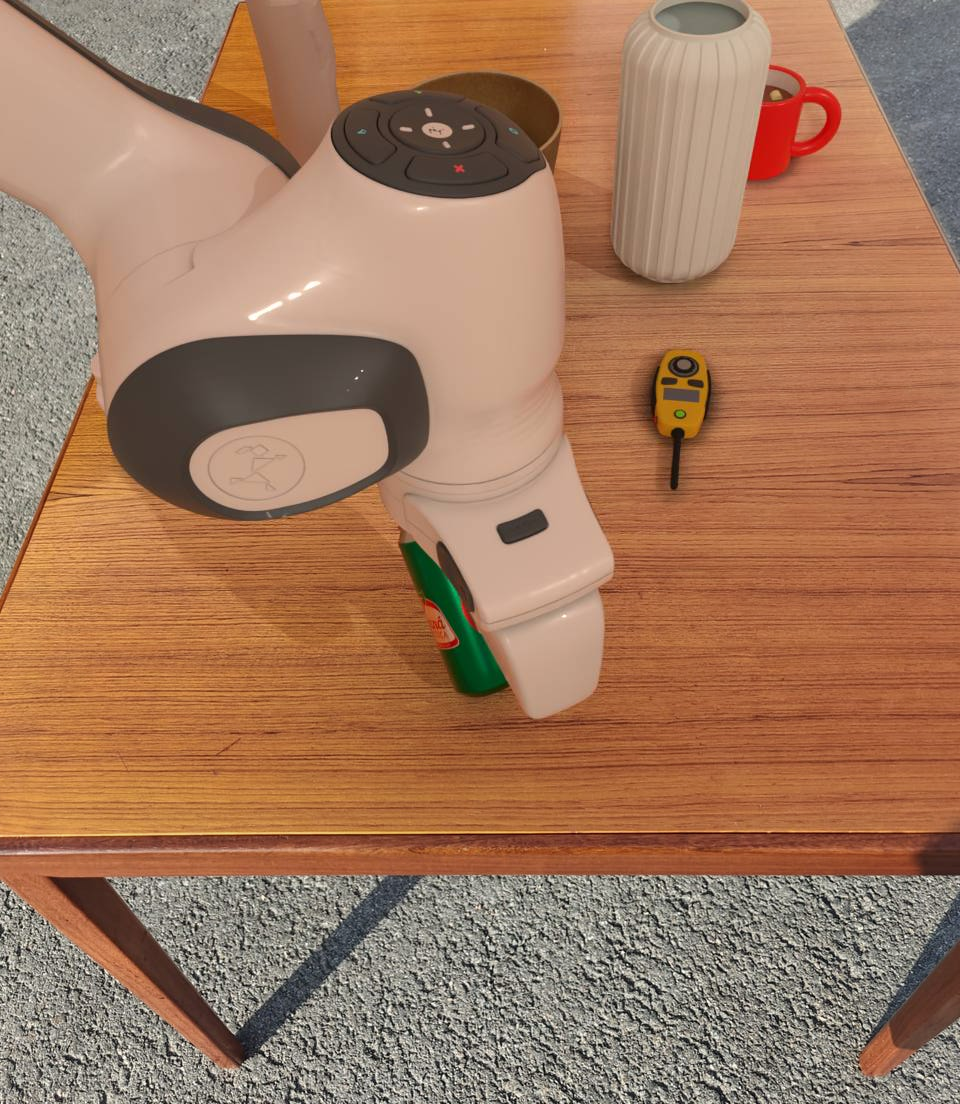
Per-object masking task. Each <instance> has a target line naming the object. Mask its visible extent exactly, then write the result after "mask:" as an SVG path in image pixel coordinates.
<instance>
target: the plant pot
mask: <svg viewBox="0 0 960 1104" xmlns="http://www.w3.org/2000/svg"><path fill="white" fill-rule="evenodd" d="M405 90H432V91H441V92H447V93H452V94H457V95H461V96H463V97H464V98H467V99H470V100H473V101H476V102H479V103H482V104H484V105H486V106H488V107H493V108H495V109H496V110H498V111H499V112H501V113H502V114H504V115H505V116H507V117H508V118H509V119H511V120H512V121H513V122H514V123H516V124H517V125H518V126H519V127H520V128H521V129H522V130H523V131H524V132H525V133H526V134H527V135H528V136H529V137H530V138H531V139H532V140H533V142H534V143H535V144H536V145H537V147H538V148H539V149H540V151H541V152H542V153H543V155H544V157H545V159H546V160H547V162H548V164H549V166H550V169H551V172H552V175H553V176H554V174H555V169H556V163H557V162H556V161H557V158H558V152H559V146H560V141H561V135H562V129H563V122H564V111H563V108H562V105H561V103H560V101H559V99H558V98H557V97H556V96H555V94H554V93H552V91H551V90H549V89H548V87H546V86H544V85H542V83H540V82H537V81H536V80H533V79H531V78H529V77H526V76H523V75H522V74H521V75H520V74H516V73H513V72H509V71H508V72H507V71H502V70H496V69H495V70H492V69H469V70H459V71H451V72H447V73H443V74H438V75H435V76H432V77H430V78H427V79H424V80H422V81H419V82H417V83H415V84H413V85H411V86H410V87H408V88H406V89H405Z"/></svg>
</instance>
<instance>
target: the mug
mask: <svg viewBox="0 0 960 1104" xmlns="http://www.w3.org/2000/svg"><path fill="white" fill-rule="evenodd" d="M804 104H816V105H819V106H820V107H822V109H823V110H824V112H825V116H826V118H825V122H824V125H823V127H822V128H821V130H819V132H818V133H816V135H814V136H812V137H811V138H809V139H807V140H803V141H796V136H797V131H798V128H799V123H800V120H801V115H802V111H803V107H804ZM842 113H843V112H842V107H841V103H840V101H839V100H838V98H837V96H835V95H834V94H833V93H832V92H831V91H829V90H828V89H826V88H823V87H820V86H814V85H813V86H812V85H811V86H807V83H806V81H805V79H804V78H803V77H802V75H800V74H799V73H797V72H796V71H794V70H792V69H790V68H788V67H784V66H779V65H774V64H769V69H768V74H767V79H766V84H765V90H764V95H763V100H762V105H761V110H760V115H759V120H758V126H757V131H756V136H755V141H754V146H753V151H752V156H751V162H750V167H749V172H748V177H747V181H762V180H767V179H771V178H774V177H777V176H779V175H781V174H782V173H784V172H786V170H787V169H788V168H789V165H790V162H791V158H801V157H807V156H810V155H812V154H815V153H817V152H819V151H820V150H822V149H823V148H825V147H826V146H827V145H829V144H830V142H831V141H832V140H833V139H834V137H835V136H836V134H837V133H838V130H839V128H840V125H841V122H842Z"/></svg>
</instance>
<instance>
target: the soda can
mask: <svg viewBox="0 0 960 1104" xmlns="http://www.w3.org/2000/svg"><path fill="white" fill-rule="evenodd" d="M397 529H398V530H399V538H398V542H397V546H398V548H399V551H400V553H401V556H402V558H403V561H404V563H405V566H406V570H407V571H408V574H409V576H410V577H409V578H410V579H411V582H412V585H413V587H414V590H415V592H416V594H417V597H418V599H419V602H420V605H421V607H422V610H423V613H424V615H425V618H426V620H427V623H428V626H429V629H430V631H431V634H432V636H433V638H434V641H435V643H436V646H437V649H438V652H439V654H440V657H441V660H442V663H443V665H444V667H445V669H446V672H447V674H448V678H449V680H450V682H451V685H452V688H453V691H454V692H456V693H457V694H459V695H461V696H463V697H465V698H467V699H479V698H485V697H489V696H492V695H495V694H497V693H500V692H503V691H504V690H507V689H508V688H511V687H510V685H509V684H508V682H507V680H506V678H505V676H504V674H503V673H502V671H501V669H500V667H499V665H498V663H497V661H496V660H495V658H494V656H493V654H492V652H491V650H490V649H489V647H488V645H487V643H486V641H485V639H484V638H483V636H482V634H481V633H479V632H478V630H477V628H476V626H475V624H474V622H473V620H472V618H471V616H470V614H469V613H468V611H467V609H466V607H465V606H464V604H463V602H462V600H461V598H460V597H459V595H458V593H457V592H456V590H455V588H454V587H453V586H452V584H451V583H450V581H449V580H448V579H447V577H446V576H445V575H444V573H443V571H442V569H441V568H440V567H439V566H438V565H437V564H436V562H435V561H434V560H433V559H432V558H431V557H430V556H429V555H428V554H427V553H426V552H425V551H424V550H423V549H422V548H421V547H420V546H419V544H418V543H417V542H416V541H415V539H414V538H413V537H412V535H411V534H410V533H408V532H407V531H405V530H404V529H403V528H401V527H400V526H399V525H398V524H397Z"/></svg>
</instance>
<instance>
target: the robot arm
mask: <svg viewBox="0 0 960 1104" xmlns="http://www.w3.org/2000/svg"><path fill="white" fill-rule="evenodd" d="M0 192H2V193H3V194H5V195H7V196H9V197H12V198H13V199H15V200H17V201H19V202H21V203H23V204H25V205H26V206H28V207H31V208H32V209H34V210H36V211H38V212H39V213H41V214H42V215H44V216H45V217H46V218H47V219H49V220H50V221H51V222H52V223H53V224H54V225H55V226H56V227H57V228H58V229H59V230H60V231H61V232H62V234H63V235H64V236H65V237H66V238H67V240H68V241H69V243H70V244H71V245H72V246H73V248H74V250H75V251H76V253H77V254H78V256H79V258H80V259H81V262H82V263H83V264H84V266H85V268H86V270H87V272H88V274H89V276H90V279H91V281H92V284H93V291H94V292H93V293H94V302H95V310H96V322H97V351H98V352H97V353H99V363H100V372H101V381H102V391H103V398H104V406H105V413H106V417H105V420H106V435H107V440H108V443H109V446H110V449H111V450H112V454H113V456H114V458H115V459H116V460H117V462H118V464H119V466H121V468H122V469H123V470H124V471H125V472H126V474H127V475H128V476H129V477H130V478H131V479H132V480H133V481H135V482H136V483H137V484H138V485H139V486H141V487H142V488H143V489H145V490H146V491H148V492H149V493H150V494H151V495H154V496H156V497H157V498H158V499H161V500H162V501H164V502H166V503H168V504H170V505H172V506H174V507H176V508H179V509H181V510H185V511H187V512H189V513H193V514H196V515H199V516H204V517H209V518H213V519H219V520H223V521H234V522H262V521H271V520H278V519H283V518H289V517H293V516H297V515H301V514H305V513H309V512H313V511H316V510H320V509H323V508H326V507H328V506H331V505H334V504H336V503H338V502H341V501H343V500H346V499H348V498H350V497H352V496H354V495H356V494H358V493H360V492H362V491H364V490H366V489H367V488H369V487H371V486H373V485H375V484H377V488H378V493H379V496H380V500H381V502H382V504H383V507H384V509H385V510H386V512H387V513H388V515H389V516H390V517H391V519H392V520H393V521H394V522H395V523H396V524H397V526H398V525H399V526H400V527H401V528H403V529H404V530H405V531H407V532H408V533H410V534H411V535H412V537H413V538H414V539H415V541H416V542H417V543H418V544H419V546H420V547H421V548H422V549H423V550H424V551H425V552H426V553H427V554H428V555H429V556H430V557H431V558H432V559H433V560H434V561H435V562H436V564H437V565H438V566H439V567H440V568H441V569H442V571H443V573H444V575H445V576H446V577H447V579H448V580H449V581H450V583H451V584H452V586H453V587H454V588H455V590H456V592H457V593H458V595H459V597H460V598H461V600H462V602H463V604H464V606H465V607H466V609H467V611H468V613H469V614H470V616H471V618H472V620H473V622H474V624H475V626H476V628H477V630H478V632H479V633H481V634H482V636H483V638H484V639H485V641H486V643H487V645H488V647H489V649H490V650H491V652H492V654H493V656H494V658H495V660H496V661H497V663H498V665H499V667H500V669H501V671H502V673H503V674H504V676H505V678H506V680H507V682H508V684H509V685H510V687H509V688H510V689H511V691H512V692H513V694H514V696H515V699H516V700H517V703H518V705H519V706H520V709H521V710H522V712H523V713H524V714H525V715H526V716H527V717H529V718H531V719H534V720H539V719H544V718H547V717H551V716H553V715H556V714H558V713H561V712H563V711H565V710H567V709H569V708H571V707H573V706H576V705H577V704H579V703H581V702H583V701H584V700H586V699H587V698H589V697H590V696H592V695H593V694H594V693H595V691H596V690H597V688H598V685H599V681H600V676H601V670H602V664H603V656H604V648H605V647H604V646H605V636H606V635H605V633H606V619H605V610H604V605H603V599H602V596H601V593H600V590H599V588H600V587H602V586H604V585H605V584H606V583H608V582H610V581H611V580H612V579H613V578H614V573H615V564H616V563H615V555H614V552H613V550H612V546H611V545H610V542H609V540H608V539H607V537H606V535H605V531H604V528H603V526H602V524H601V523H600V521H599V519H598V517H597V515H596V512H595V510H594V508H593V506H592V504H591V501H590V499H589V497H588V494H587V493H586V491H585V488H584V486H583V484H582V481H581V478H580V475H579V471H578V468H577V465H576V461H575V456H574V452H573V448H572V444H571V441H570V439H569V436H568V435H567V433H564V412H565V411H564V410H565V407H564V394H563V387H562V384H561V382H560V377H559V376H558V373H557V370H556V367H557V365H558V362H559V360H560V358H561V354H562V351H563V349H564V345H565V338H566V332H567V331H566V330H567V287H566V286H567V283H566V278H567V277H566V257H565V243H564V242H565V241H564V231H563V223H562V215H561V214H562V213H561V206H560V199H559V193H558V189H557V185H556V181H555V178H554V174H553V175H552V172H551V169H550V166H549V164H548V162H547V160H546V159H545V157H544V155H543V153H542V152H541V151H540V149H539V148H538V147H537V145H536V144H535V143H534V142H533V140H532V139H531V138H530V137H529V136H528V135H527V134H526V133H525V132H524V131H523V130H522V129H521V128H520V127H519V126H518V125H517V124H516V123H514V122H513V121H512V120H511V119H509V118H508V117H507V116H505V115H504V114H502V113H501V112H499V111H498V110H496V109H495V108H493V107H488V106H486V105H484V104H482V103H479V102H476V101H473V100H470V99H467V98H464V97H463V96H461V95H457V94H452V93H447V92H441V91H432V90H406V89H402V90H394V91H388V92H383V93H380V94H375V95H370V96H368V97H365V98H362V99H360V100H357V101H356V102H353V103H352V104H350V105H349V106H347V107H345V108H344V109H343V110H341V112H340V113H339V115H338V116H337V117H336V118H335V119H334V120H333V121H332V123H331V125H330V127H329V129H328V130H327V132H326V134H325V136H324V138H323V140H322V142H321V143H320V145H319V147H318V148H317V149H316V151H315V152H314V154H313V155H312V156H311V157H310V159H309V160H308V161H307V162H306V163H305V164H304V165H303V166H302V167H301V166H300V165H299V163H298V162H297V161H296V159H295V158H294V157H293V156H292V155H291V153H290V152H289V151H288V150H287V149H286V148H285V147H284V146H283V145H282V144H281V143H280V141H278V140H277V139H276V138H275V137H274V136H273V135H271V134H270V133H268V132H267V131H265V130H264V129H262V128H261V127H259V126H258V125H256V124H254V123H252V122H250V121H248V120H246V119H244V118H242V117H239V116H237V115H234V114H232V113H230V112H227V111H224V110H221V109H219V108H217V107H213V106H210V105H206V104H203V103H200V102H197V101H194V100H190V99H187V98H184V97H181V96H178V95H175V94H171V93H169V92H166V91H163V90H161V89H158V88H156V87H154V86H151V85H149V84H147V83H144V82H143V81H140V80H138V79H136V78H134V77H133V76H131V75H130V74H128V73H126V72H124V71H122V70H120V69H119V68H117V67H116V66H114V65H112V64H111V63H109V62H108V61H106V60H105V59H103V58H102V57H100V56H99V55H97V54H96V53H94V52H93V51H91V50H90V49H89V48H87V47H86V46H84V45H83V44H81V43H80V42H79V41H78V40H76V39H74V38H73V37H71V36H70V35H69V34H68V33H66V32H64V31H63V30H62V29H60V28H59V27H58V26H56V25H54V24H53V23H52V22H50V21H49V20H48V19H46V18H45V17H44V16H42V15H40V14H39V13H37V11H35V10H33V9H32V8H31V7H29V6H28V5H27V4H25V3H24V2H22V1H21V0H0Z"/></svg>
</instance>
